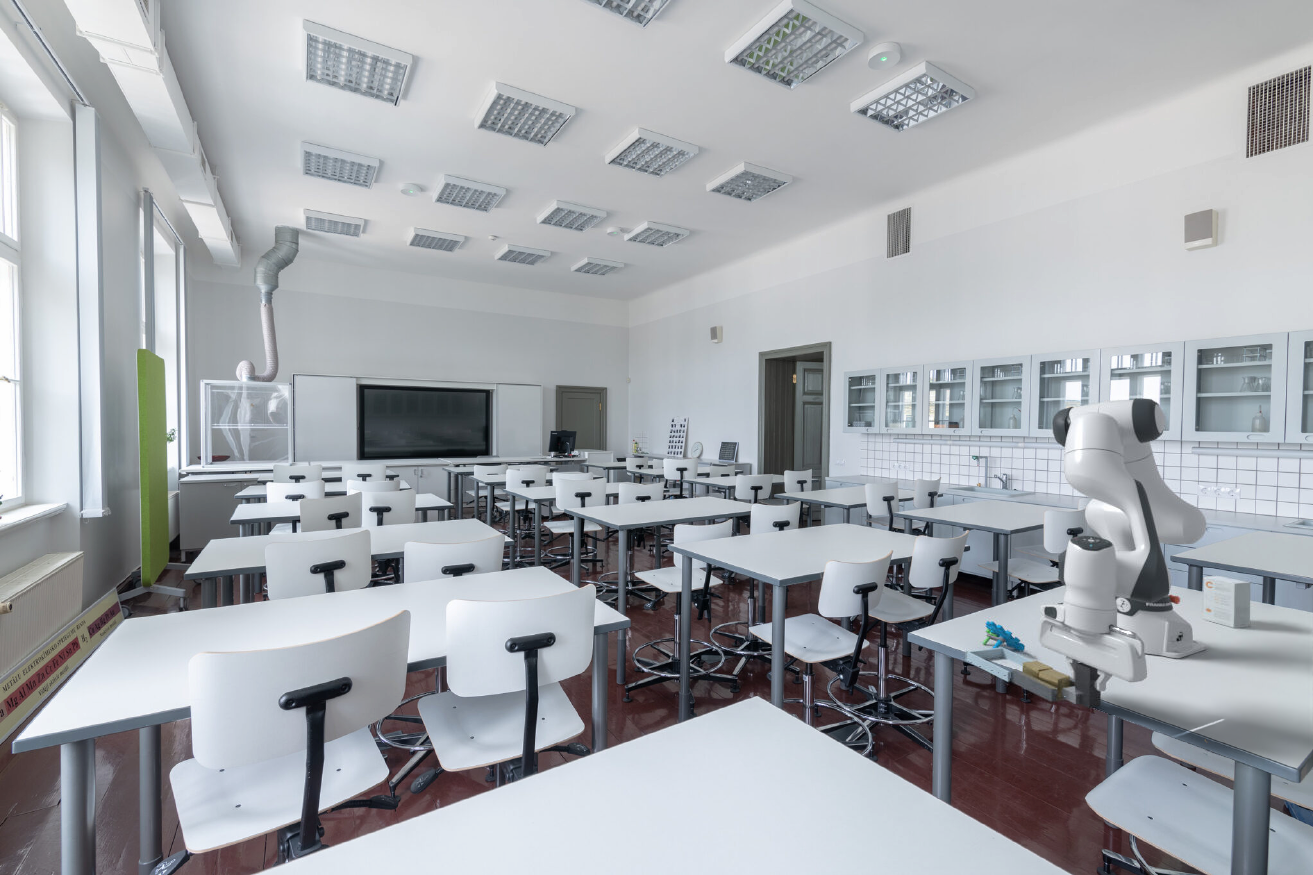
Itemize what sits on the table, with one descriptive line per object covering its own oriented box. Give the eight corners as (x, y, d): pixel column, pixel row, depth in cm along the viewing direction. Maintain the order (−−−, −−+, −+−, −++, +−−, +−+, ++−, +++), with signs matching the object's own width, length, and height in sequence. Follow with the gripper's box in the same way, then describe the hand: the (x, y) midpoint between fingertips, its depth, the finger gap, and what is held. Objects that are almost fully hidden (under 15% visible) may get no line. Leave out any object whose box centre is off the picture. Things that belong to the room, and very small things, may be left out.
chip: (1050, 686, 128) (1051, 668, 128) (1069, 694, 125) (1070, 676, 125) (1038, 689, 127) (1039, 671, 127) (1057, 697, 123) (1057, 679, 123)
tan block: (1036, 678, 133) (1036, 660, 133) (1052, 685, 129) (1052, 667, 129) (1022, 679, 132) (1022, 662, 132) (1038, 687, 128) (1038, 669, 128)
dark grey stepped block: (1080, 694, 123) (1081, 657, 123) (1104, 705, 118) (1105, 666, 118) (1062, 697, 122) (1062, 659, 121) (1085, 708, 117) (1085, 669, 117)
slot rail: (1044, 677, 134) (1044, 665, 133) (1086, 697, 124) (1086, 684, 124) (1010, 682, 131) (1010, 669, 131) (1051, 702, 121) (1051, 689, 121)
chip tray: (1002, 656, 146) (1002, 647, 146) (1047, 677, 134) (1047, 667, 134) (965, 661, 143) (965, 651, 143) (1007, 682, 131) (1007, 672, 131)
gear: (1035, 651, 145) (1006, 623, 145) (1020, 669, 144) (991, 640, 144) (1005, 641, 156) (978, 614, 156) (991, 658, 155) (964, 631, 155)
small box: (1250, 627, 169) (1251, 582, 169) (1233, 628, 168) (1235, 583, 167) (1218, 618, 177) (1219, 575, 177) (1201, 619, 175) (1203, 576, 175)
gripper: (1156, 634, 109) (1154, 706, 110) (1056, 601, 129) (1055, 663, 129) (1131, 637, 108) (1129, 711, 108) (1033, 604, 127) (1032, 666, 128)
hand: (1088, 684), depth 119 cm, fingers closed on dark grey stepped block, 3 cm apart
